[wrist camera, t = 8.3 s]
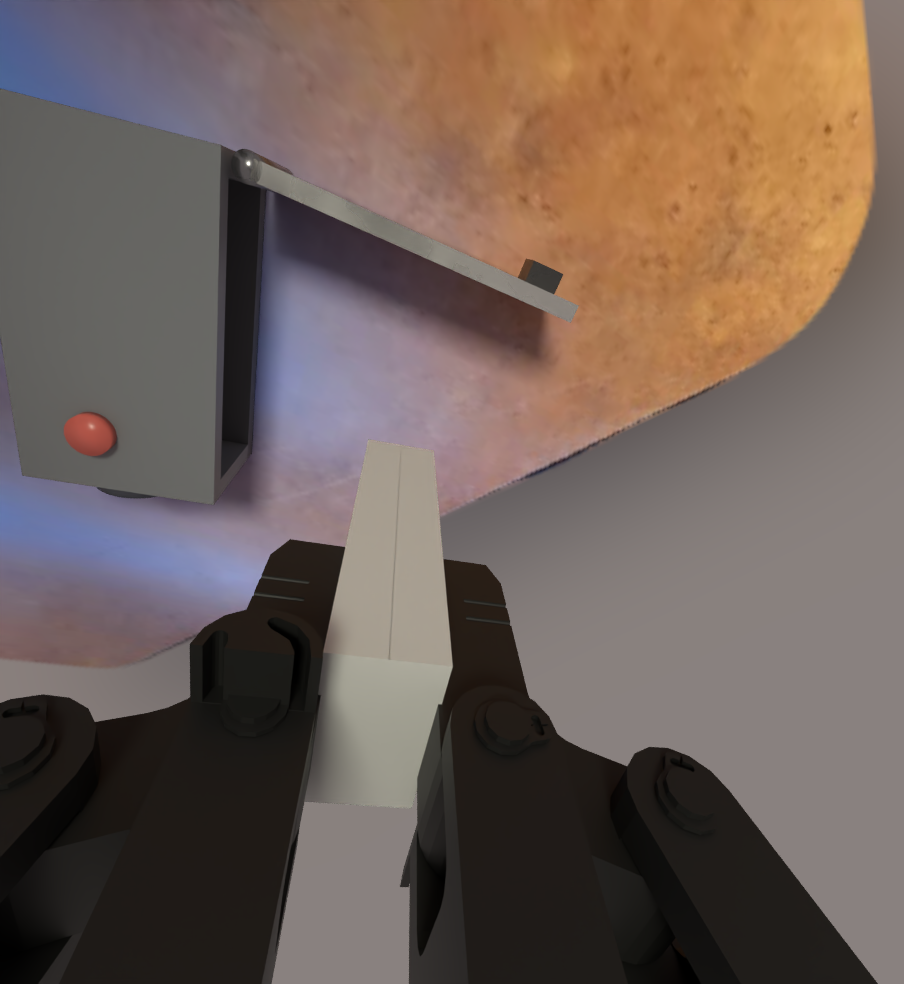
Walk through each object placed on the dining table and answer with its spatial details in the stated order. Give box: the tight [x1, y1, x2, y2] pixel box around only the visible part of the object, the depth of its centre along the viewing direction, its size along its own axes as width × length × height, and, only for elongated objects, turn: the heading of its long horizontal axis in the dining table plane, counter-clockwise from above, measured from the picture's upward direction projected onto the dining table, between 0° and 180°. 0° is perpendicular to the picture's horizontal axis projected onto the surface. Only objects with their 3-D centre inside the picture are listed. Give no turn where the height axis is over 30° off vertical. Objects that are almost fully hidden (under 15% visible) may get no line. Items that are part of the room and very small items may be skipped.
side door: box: [231, 149, 578, 323], centre depth 25 cm, size 16×2×6 cm, turn 68°
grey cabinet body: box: [0, 89, 266, 505], centre depth 26 cm, size 17×9×8 cm, turn 167°
